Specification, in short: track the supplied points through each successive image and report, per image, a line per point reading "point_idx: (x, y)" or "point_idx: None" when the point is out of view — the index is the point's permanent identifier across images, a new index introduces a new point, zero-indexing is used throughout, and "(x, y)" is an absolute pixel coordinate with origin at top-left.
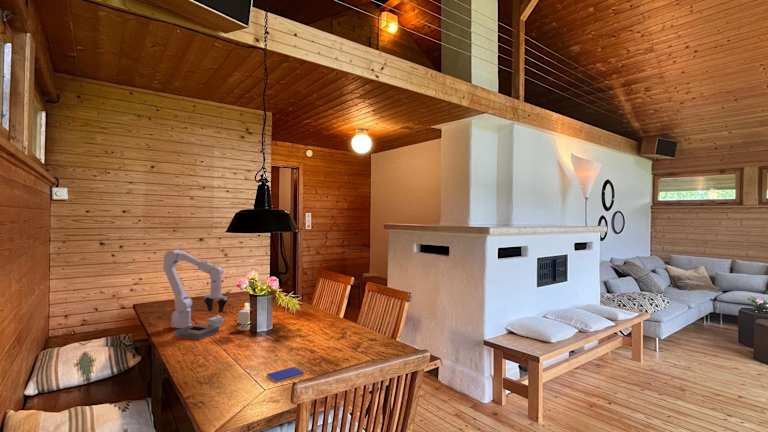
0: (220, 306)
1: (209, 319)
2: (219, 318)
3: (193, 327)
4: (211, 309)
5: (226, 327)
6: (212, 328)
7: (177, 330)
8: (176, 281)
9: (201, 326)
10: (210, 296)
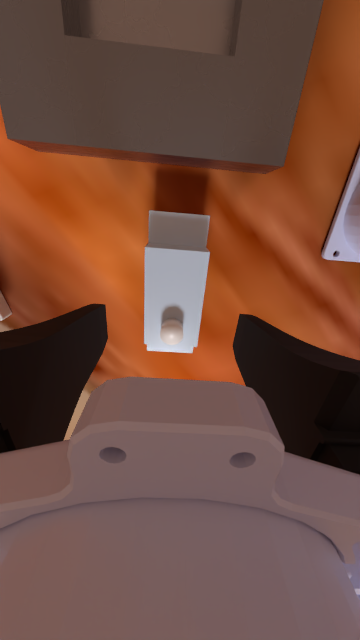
0: (29, 327)
1: (193, 250)
2: (145, 312)
3: (237, 27)
4: (236, 349)
5: (90, 282)
6: (6, 43)
7: None
8: None
9: (170, 84)
10: (284, 505)
